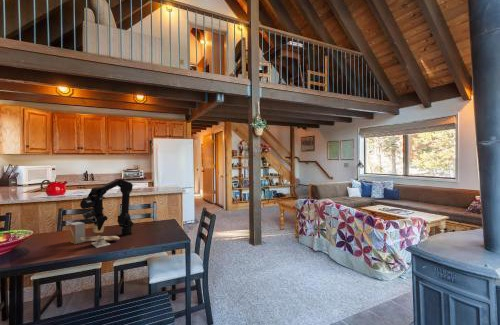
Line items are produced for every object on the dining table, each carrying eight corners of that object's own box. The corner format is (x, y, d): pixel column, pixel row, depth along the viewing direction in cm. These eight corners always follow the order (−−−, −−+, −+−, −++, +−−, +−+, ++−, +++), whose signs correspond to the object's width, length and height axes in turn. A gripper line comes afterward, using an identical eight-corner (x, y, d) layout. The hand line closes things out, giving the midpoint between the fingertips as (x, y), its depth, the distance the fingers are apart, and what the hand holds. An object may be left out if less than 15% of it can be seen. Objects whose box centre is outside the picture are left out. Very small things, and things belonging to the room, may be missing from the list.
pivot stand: (104, 240, 175) (104, 233, 175) (110, 244, 166) (110, 237, 166) (91, 243, 169) (91, 236, 169) (96, 247, 161) (96, 240, 161)
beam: (116, 237, 178) (116, 235, 178) (119, 239, 173) (119, 237, 173) (79, 238, 162) (80, 237, 162) (82, 241, 157) (83, 239, 157)
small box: (69, 242, 172) (68, 223, 172) (79, 239, 178) (78, 221, 178) (75, 244, 168) (75, 225, 168) (85, 241, 174) (85, 222, 174)
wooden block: (100, 231, 170) (102, 224, 170) (103, 232, 166) (104, 225, 167) (92, 231, 166) (93, 224, 167) (94, 232, 163) (96, 225, 163)
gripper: (79, 206, 167) (80, 229, 167) (87, 209, 154) (87, 235, 154) (98, 204, 175) (98, 226, 175) (107, 207, 162) (107, 231, 162)
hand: (97, 229), depth 166 cm, fingers closed on wooden block, 5 cm apart
